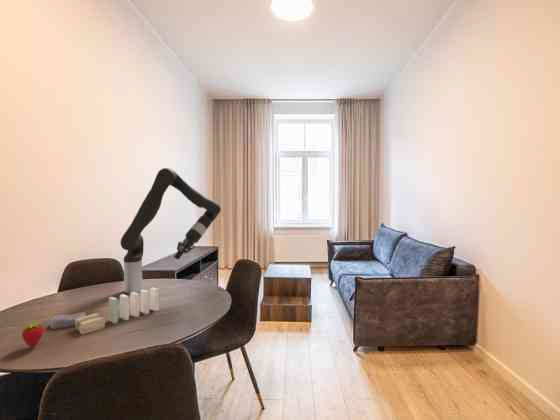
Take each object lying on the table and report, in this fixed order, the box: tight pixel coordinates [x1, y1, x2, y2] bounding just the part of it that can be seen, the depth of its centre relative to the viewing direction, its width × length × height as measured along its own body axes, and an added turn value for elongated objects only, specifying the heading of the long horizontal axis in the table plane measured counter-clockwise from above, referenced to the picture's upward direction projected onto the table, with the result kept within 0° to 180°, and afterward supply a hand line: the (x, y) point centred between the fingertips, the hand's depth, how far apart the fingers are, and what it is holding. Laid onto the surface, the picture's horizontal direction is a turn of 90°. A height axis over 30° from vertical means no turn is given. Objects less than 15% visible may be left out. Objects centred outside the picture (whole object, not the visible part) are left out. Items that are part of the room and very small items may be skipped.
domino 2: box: [119, 293, 130, 321], centre depth 130 cm, size 2×5×10 cm, turn 50°
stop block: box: [74, 313, 106, 335], centre depth 120 cm, size 8×8×4 cm
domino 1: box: [108, 296, 119, 325], centre depth 127 cm, size 2×5×10 cm, turn 50°
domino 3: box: [129, 292, 140, 318], centre depth 134 cm, size 2×5×10 cm, turn 50°
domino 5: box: [149, 287, 160, 312], centre depth 141 cm, size 2×5×10 cm, turn 50°
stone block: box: [49, 311, 87, 330], centre depth 126 cm, size 12×5×10 cm
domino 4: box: [139, 289, 150, 315], centre depth 137 cm, size 2×5×10 cm, turn 50°
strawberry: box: [21, 319, 45, 348], centre depth 104 cm, size 6×8×10 cm
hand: (176, 258), depth 153 cm, fingers closed
